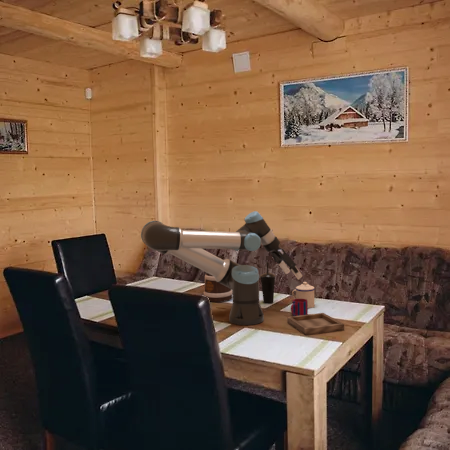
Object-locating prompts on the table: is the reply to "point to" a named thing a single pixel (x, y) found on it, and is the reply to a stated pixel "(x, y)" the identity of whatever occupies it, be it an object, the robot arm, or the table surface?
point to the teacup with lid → (305, 293)
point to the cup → (299, 307)
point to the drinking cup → (268, 286)
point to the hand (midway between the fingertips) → (294, 275)
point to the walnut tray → (315, 323)
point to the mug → (216, 290)
